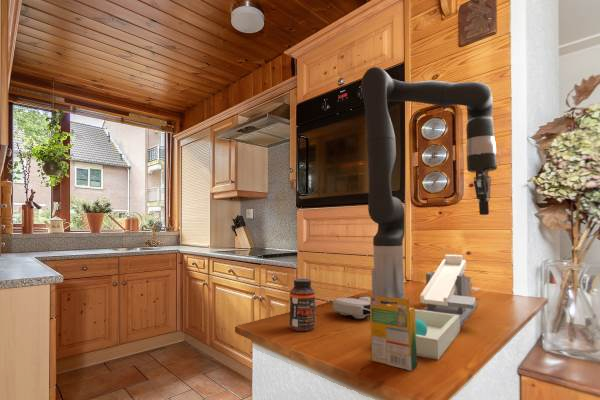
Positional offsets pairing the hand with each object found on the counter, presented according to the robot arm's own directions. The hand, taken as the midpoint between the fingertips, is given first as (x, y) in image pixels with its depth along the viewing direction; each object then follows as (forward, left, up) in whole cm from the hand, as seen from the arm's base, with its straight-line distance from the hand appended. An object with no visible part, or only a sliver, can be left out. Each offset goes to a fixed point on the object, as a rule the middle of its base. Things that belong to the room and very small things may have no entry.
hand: (484, 214), depth 98 cm
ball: (-9, -36, -24) cm, 44 cm away
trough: (-6, -9, -20) cm, 23 cm away
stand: (-9, -10, -26) cm, 30 cm away
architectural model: (-9, +14, -27) cm, 32 cm away
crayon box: (-9, -50, -27) cm, 57 cm away
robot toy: (-28, -23, -27) cm, 45 cm away
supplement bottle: (-34, -42, -27) cm, 60 cm away
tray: (-9, -34, -26) cm, 44 cm away
